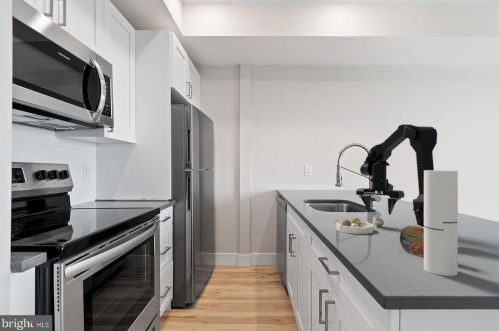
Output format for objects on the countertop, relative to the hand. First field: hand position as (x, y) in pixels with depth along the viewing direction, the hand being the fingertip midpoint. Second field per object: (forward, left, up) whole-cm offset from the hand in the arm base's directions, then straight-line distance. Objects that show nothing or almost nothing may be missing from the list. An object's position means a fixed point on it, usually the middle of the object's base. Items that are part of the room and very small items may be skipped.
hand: (379, 213), depth 130 cm
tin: (-40, -13, -6) cm, 42 cm away
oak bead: (-7, +9, -3) cm, 12 cm away
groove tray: (-11, +9, -6) cm, 15 cm away
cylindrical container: (-52, -15, -6) cm, 54 cm away
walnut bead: (-14, +12, -3) cm, 18 cm away
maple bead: (0, 0, -4) cm, 4 cm away
